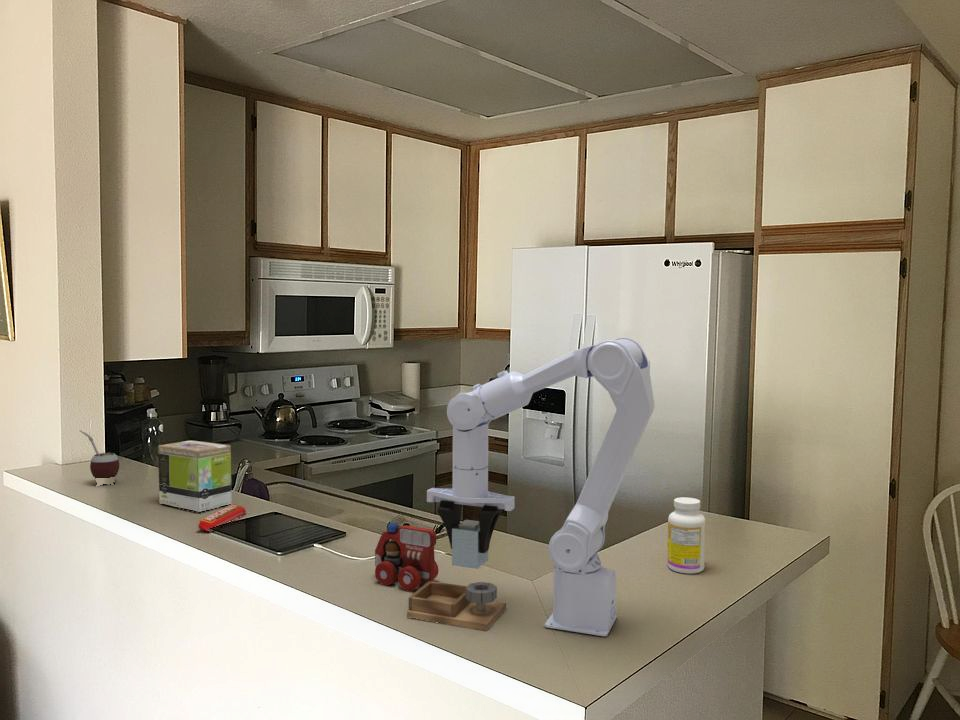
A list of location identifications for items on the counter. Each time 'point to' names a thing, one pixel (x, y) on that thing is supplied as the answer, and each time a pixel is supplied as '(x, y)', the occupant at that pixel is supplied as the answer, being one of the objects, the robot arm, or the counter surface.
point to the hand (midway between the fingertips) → (469, 549)
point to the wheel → (481, 592)
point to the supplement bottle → (686, 537)
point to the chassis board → (452, 607)
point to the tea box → (195, 474)
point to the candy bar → (222, 516)
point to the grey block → (467, 545)
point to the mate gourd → (103, 463)
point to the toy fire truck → (406, 556)
